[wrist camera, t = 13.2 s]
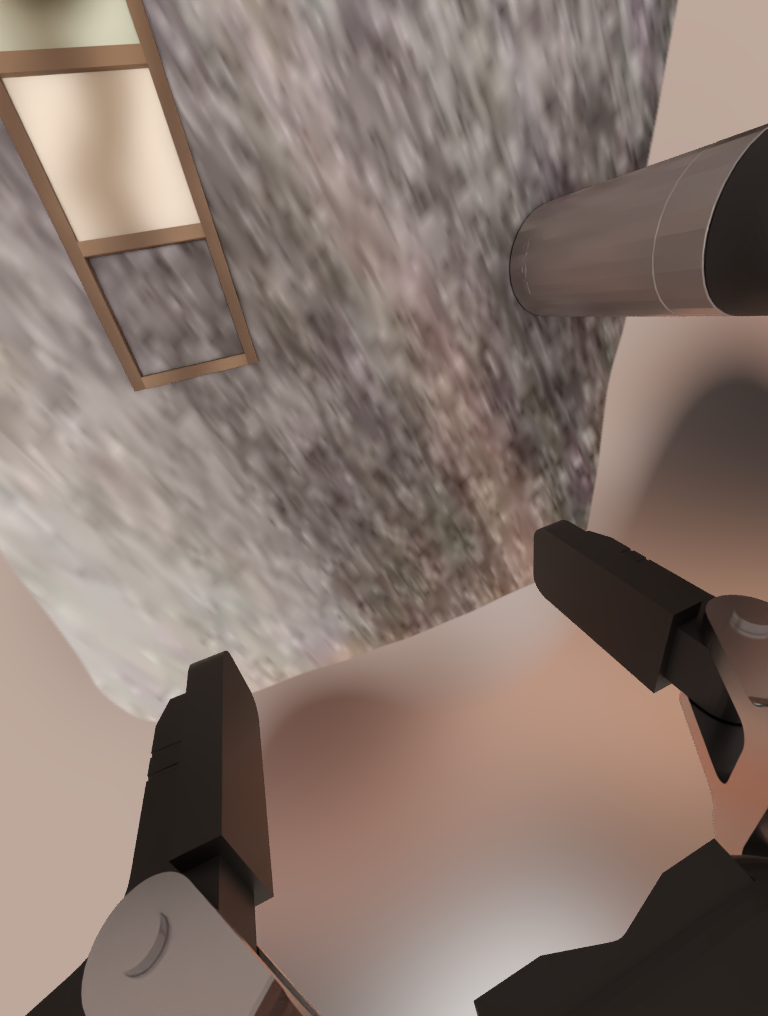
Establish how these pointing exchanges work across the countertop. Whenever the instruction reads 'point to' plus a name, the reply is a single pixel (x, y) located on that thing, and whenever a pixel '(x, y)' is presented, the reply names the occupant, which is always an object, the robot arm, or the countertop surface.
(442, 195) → the countertop surface
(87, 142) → the board
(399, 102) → the countertop surface
